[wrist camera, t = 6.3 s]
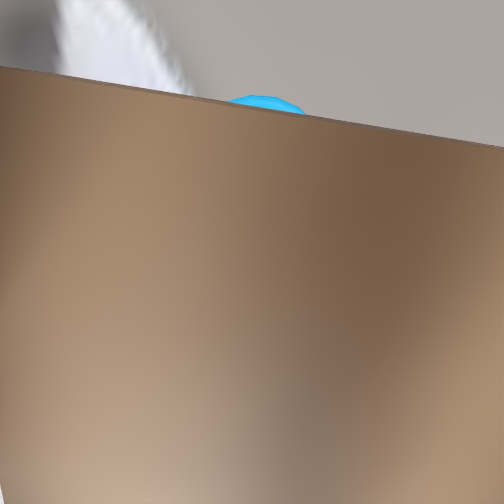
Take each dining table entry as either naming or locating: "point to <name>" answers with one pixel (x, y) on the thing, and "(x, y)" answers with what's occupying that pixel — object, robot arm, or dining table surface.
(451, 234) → the block
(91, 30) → the dining table surface
